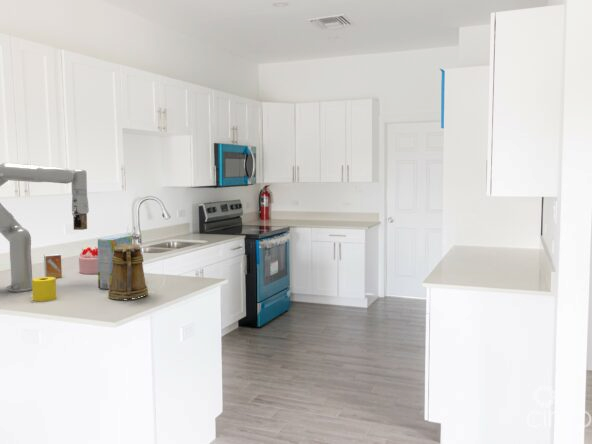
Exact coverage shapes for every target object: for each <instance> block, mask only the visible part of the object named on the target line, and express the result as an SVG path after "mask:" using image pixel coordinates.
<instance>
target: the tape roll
mask: <svg viewBox="0 0 592 444" xmlns="http://www.w3.org/2000/svg"><path fill="white" fill-rule="evenodd" d="M56 279H57V278H55V277H45V276H42V277H36V278H35V277H34V278H32V289H33V290H32V300H33V301H35V302H47V301H52V300H55V299H57V284H56V283H57V281H56Z"/></svg>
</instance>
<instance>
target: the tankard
mask: <svg viewBox="0 0 592 444" xmlns="http://www.w3.org/2000/svg"><path fill="white" fill-rule="evenodd" d="M112 262H113V268H112V278H111V287H110V289H108V298H109V299H111V300H114V299H116V301H125V300H124V299H132V298H138V297H141V296H144V295H147V294H148V295H149V289H148V286H147V283H146V278H145V272H144V266H143V263H144V256H143V253H142V252H141V246H140V245H139V244H137V243H132V244H128V243H125V244H120V245H117V246H115V247H114V255H113V256H112ZM148 295H147V296H148Z"/></svg>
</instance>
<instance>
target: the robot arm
mask: <svg viewBox="0 0 592 444" xmlns="http://www.w3.org/2000/svg"><path fill="white" fill-rule="evenodd" d="M87 178H88V177H87V170H86V169H68V168H59V167H49V166H48V167H47V166H41V165H35V164H34V165H33V164H23V163H13V162H11V163H10V162H6V163H5V162H4V163H1V164H0V187H2V186H3V185H4V184H5V183H7V182H8V181H16V182H29V183H30V182H31V183H55V184H71V196H72V197H71V214H72V216H73V217H74V222H73V225H74V224H75V227H81V220H80V214H87V215H88V213H89V212H90V211H89V199H88V179H87ZM77 215H78V216H77ZM73 217H72V218H73ZM0 234H1V235H2V236H3V237H4V238H5V239H6V240H7V241H8V243H9V260H10V261H9V263H10V277H11V278H10V279H11V280H10V281H11V282H10V285H7V287H6V288H7V289H6V290H8V291H9V292H12V293H13V292H14V293H17V292H18V293H19V292H20V293H21V292H27V291H33V289H32V279H33V269H32V268H33V266H32V265H33V264H32V263H33V262H32V235H31V234H30V232H29V230H28V229H26V228H24V227H23V226H22V224H21V223H19V222H18V221H17V220H16V219H15V217H14V216H13V214H12V213H11V212H9V210H7V208H5V207H4V205H3V204H2V202H0Z"/></svg>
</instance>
